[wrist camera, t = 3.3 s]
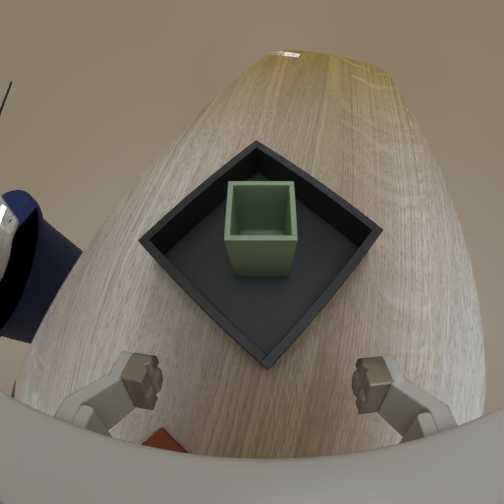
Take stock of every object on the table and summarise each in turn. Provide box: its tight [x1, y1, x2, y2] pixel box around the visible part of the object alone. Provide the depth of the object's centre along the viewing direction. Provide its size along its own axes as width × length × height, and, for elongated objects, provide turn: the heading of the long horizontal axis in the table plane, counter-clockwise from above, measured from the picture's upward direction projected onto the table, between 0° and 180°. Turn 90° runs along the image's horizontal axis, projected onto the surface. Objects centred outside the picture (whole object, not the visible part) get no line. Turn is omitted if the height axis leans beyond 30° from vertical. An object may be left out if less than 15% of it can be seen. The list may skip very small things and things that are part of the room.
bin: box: [138, 141, 383, 370], centre depth 26 cm, size 16×16×5 cm
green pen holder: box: [224, 181, 298, 277], centre depth 24 cm, size 5×5×8 cm
